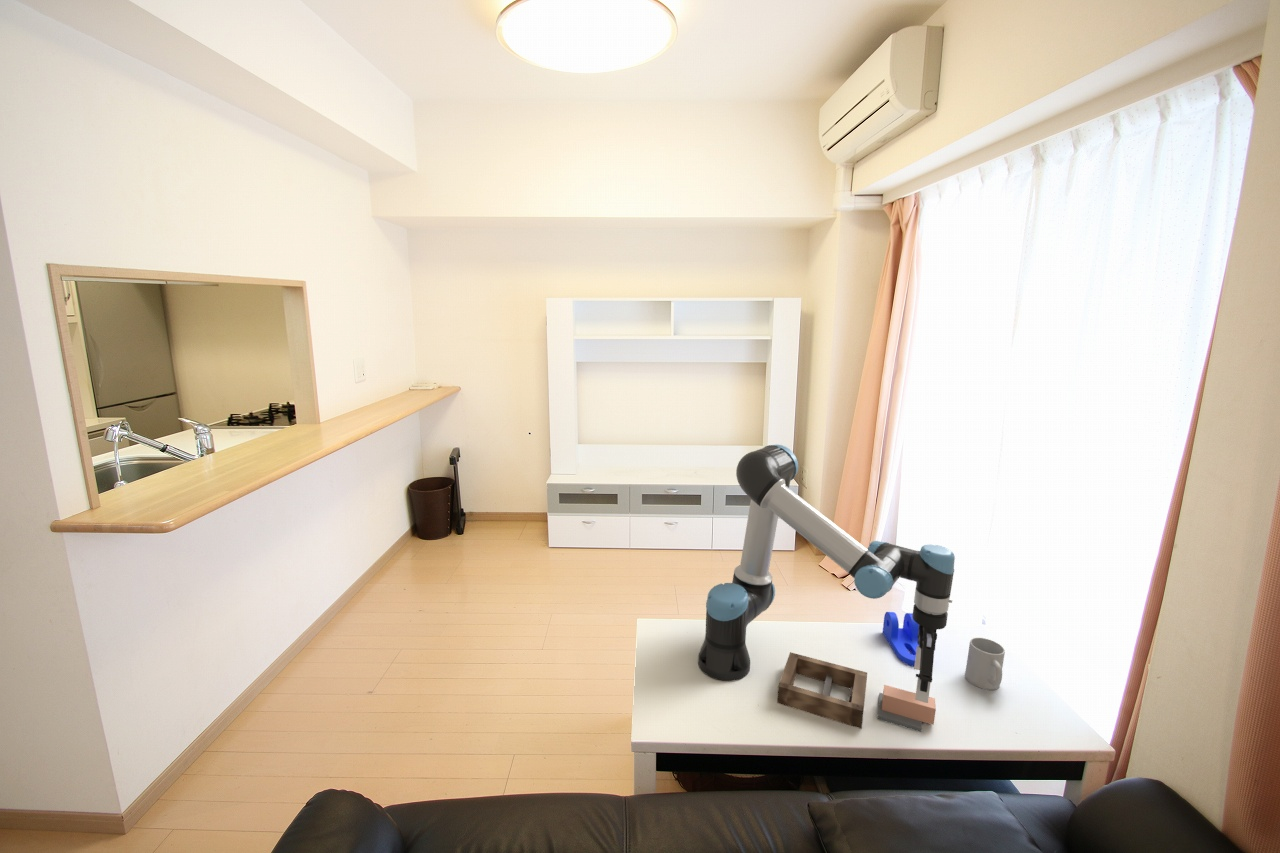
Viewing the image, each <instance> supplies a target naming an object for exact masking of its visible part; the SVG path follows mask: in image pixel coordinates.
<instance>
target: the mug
mask: <svg viewBox="0 0 1280 853" xmlns="http://www.w3.org/2000/svg"><path fill="white" fill-rule="evenodd" d="M1005 653H1006V651H1005V648H1004V646H1002V645H1001V644H1000V643H998V642H996V641H994V640H991V639H989V638H984V637H973V638H971V639H970V641H969V645H968V654H967V660H966V664H965V665H966V666H965V672H964V678H965V679H966V680H967V681H968V682H969V683H970V684H971V685H973V686H975V687H977V688H980V689H983V690H987V691H995V690H997V689H999V688H1000V685H1001V683H1002V680H1003V667H1004V661H1005V660H1004V659H1005Z"/></svg>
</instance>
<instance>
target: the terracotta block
mask: <svg viewBox="0 0 1280 853" xmlns="http://www.w3.org/2000/svg"><path fill="white" fill-rule="evenodd" d="M882 691H883V692H882V693H883V698H882V710H884V711H887V712H891V713H894V714H898V715H901V716H905V717H908V718H912V719H915V720H918V721H921V723H922V722H923V723H927V724H929V725H933V726H934V725H935V718H936V710H937V707H936V698H935V697H931V696H929V698H928V703H925V702H921V701H918V700H915V697H916V692H913V691H909V690H905V689H902V688H897V687H894V686H890V685H886V684H884V685H883V690H882Z"/></svg>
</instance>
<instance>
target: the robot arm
mask: <svg viewBox="0 0 1280 853" xmlns="http://www.w3.org/2000/svg"><path fill="white" fill-rule="evenodd" d="M798 471H799V462H798V459H797V456H796V455H795V453H794V452H793V451H792V450H791V449H790V448H788V447H787V446H784V445H782V444H770V445H765V446H763V447H762V448H760V449H757V450H754V451H750V452H748V453H746V454H745V455H744V456H742V457H741V458H740V460H739V461H738V463H737V466H736V474H735V476H736V480H737V482H738V485H739V487H740V488H741V490H742V491H743V493H745V494H746V496H747V497H748V498H749V499H750V503H749V508H748V515H747V523H746V527H745V532H744V539H743V546H742V552H741V553H742V554H741V560H740V564H739V565H737V566H736V567H734V570H733V575H732V576H733V577H732V580H731V581H732V582H724V583H718V584H716V585H714V586H713V587H712V588H711V589H709V592H708V594H707V599H706V601H705V607H706V608H705V609H706V612H705V616H706V617H705V635H704V640H703V643H702V644H701V647H700V649H699V652H698V656H697V657H698V661H697V664H698V667H699V669H700V671H701V672H703V673H704V674H705V675H706V676H708V677H710V678H712V679H715V680H719V681H725V682H733V681H738V680H741V679H743V678H745V677H747V675H748V674H749V672H750V669H751V658H750V655H749V651H748V647H747V644H746V640H747V639H746V638H747V637H746V636H747V626H748V625H749V624H750V623H751V622H752V621H754V620H755V619H756V618H757V617H758V616H760V615H761V614H762V613H763V612H765V611H767V610H768V609H769V608H770V606H771V605H772V603H773V602H774V599H775V596H776V588H775V584H774V583H773V575H772V573H771V572H770V565H771V560H772V559H771V558H772V553H773V549H774V543H775V537H776V533H777V532H776V531H777V527H778V526H777V525H778V519H779V518H780V520H782V521H783V522H784V523H785V524H787V525H789V527H791V528H792V529H793V530H794V531H796V532H797V533H798V534H799V535H801V536H802V537H803V538H804V539H805V540H807V541H808V542H809V543H810V544H811V545H813V546H814V547H815V548H817V549H818V550H819V551H820V552H821V553H823V555H825V556H826V557H828V558H829V560H831V561H832V562H834V563H835V564H836V565H838V567H840V568H841V569H842V570H843V571H844V572H846V573H847V574H848V575H849V576H851V578H853V581H854V582H853V583H854V585H855V588H856V589H857V592H859V594H861V595H862V596H864V597H866V598H868V599H873V600H874V599H876V600H877V599H880V598H882V597H884V596H885V595H886V594H887V593H889V592H890V591H891V590H892V589H893V586H894V585H895V583H896V582H897V581H898V579H900V578H901V579H905V580H908V581H913V582H916V585H915V590H914V597H913V598H914V599H913V603H914V605H913V609H912V613H913V615H912V617H913V620H914V621H915V622H916V623H917V624H919V628H918V631H919V632H918V635H917V637H918V641H917V643H918V645H919V646H918V645H917V650H916V658H915V666H913V668H914V670H918V671H919V673H916V674H915V677H916V678H917V680H916V681H917V684H916V690H915V693H916V697H915V700H918V701H921V702H925V703H928V698H929V697H930V689H931V683H932V682H933V669H934V658H935V657H934V656H935V650H936V643H937V640H938V639H937V638H938V633H937V630H943V629H945V628H946V626H947V623H948V615H949V614H948V613H949V612H948V611H949V607H950V605H949V603H950V604H951V603H953V598H951V591H952V586H953V580H954V574H955V559H956V558H955V554H954V552H953V551H952V550H950V549H949V548H947V547H945V546H942V545H938V544H937V545H936V544H924V545H922V546H921V547H920V550H915V549H911V548H907V547H904V546H899V545H896V544H892V543H889V542H885V541H879V540H873V541H871V542H870V543H869V546H868V547H867V548H866V547H865V546H863V545H862V544H861V543H860V542H859V541H857V540H856V539H855V538H854V537H852V536H851V535H850V534H849V533H847V532H846V531H845V530H844V529H842V528H841V527H839V526H838V525H837V524H835V522H833V521H832V520H831V519H829V518H828V517H827V516H825V515H824V514H823V513H821V511H819V510H818V509H816V508H815V507H814V506H813V505H811V504H810V503H809V502H807V501H806V499H804V498H802V496H800V495H798V494H797V493H796V492H795V491H793V490H792V489H791V488H790V484H791V481H792V480H794V478H795V477H796V475H797V474H798Z"/></svg>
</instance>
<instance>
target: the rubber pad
mask: <svg viewBox="0 0 1280 853" xmlns="http://www.w3.org/2000/svg"><path fill="white" fill-rule="evenodd" d="M882 698H883V692H879V694H878V707H877V709H878V710H877V720H880V721H882V722H886V723H889V724H893V725H896V726H900V727H903V728H906V729H910V730H912V731H913V730H914V731H916V732H920V733H921V732H922V729H923V728H922V725H923V724H922V721H918V720H915V719H912V718H908V717H905V716H901V715H898V714H894V713H891V712H887V711H884V710H882Z"/></svg>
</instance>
